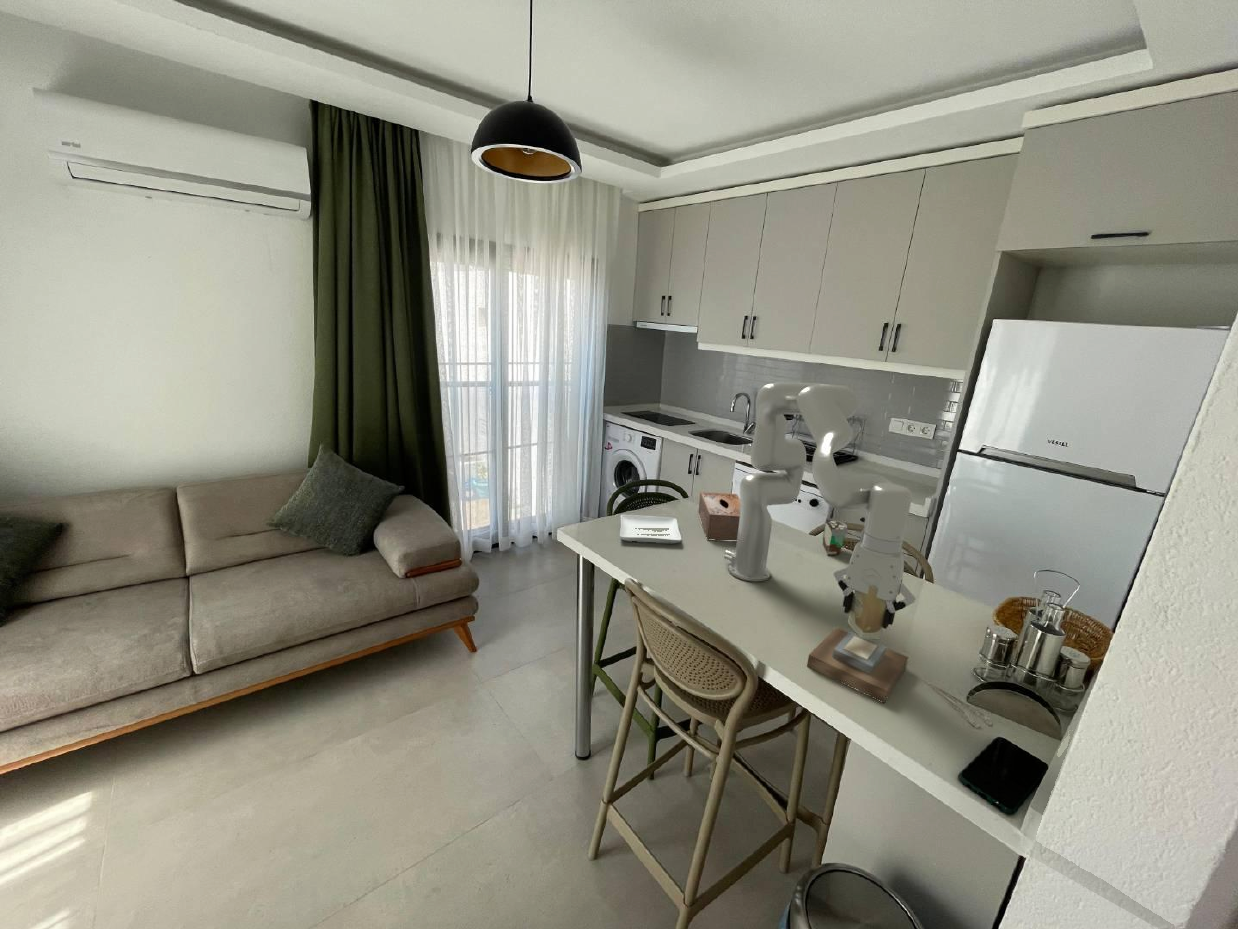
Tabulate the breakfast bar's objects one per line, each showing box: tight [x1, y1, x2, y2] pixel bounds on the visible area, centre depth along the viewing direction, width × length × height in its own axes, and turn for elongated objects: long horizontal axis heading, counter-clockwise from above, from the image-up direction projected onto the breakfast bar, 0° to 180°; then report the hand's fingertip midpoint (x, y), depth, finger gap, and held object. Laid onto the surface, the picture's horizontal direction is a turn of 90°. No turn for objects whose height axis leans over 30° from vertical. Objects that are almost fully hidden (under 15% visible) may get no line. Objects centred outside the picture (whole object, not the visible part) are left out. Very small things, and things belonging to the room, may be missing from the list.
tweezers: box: [920, 677, 993, 729], centre depth 105 cm, size 17×5×2 cm, turn 16°
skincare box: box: [847, 586, 888, 640], centre depth 109 cm, size 6×4×12 cm
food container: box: [821, 517, 849, 557], centre depth 174 cm, size 12×6×10 cm, turn 168°
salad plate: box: [619, 514, 682, 545], centre depth 182 cm, size 21×21×3 cm
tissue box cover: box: [697, 491, 740, 540], centre depth 191 cm, size 26×14×10 cm, turn 178°
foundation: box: [806, 626, 909, 703], centre depth 112 cm, size 16×16×5 cm
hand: (866, 617), depth 110 cm, fingers closed on skincare box, 7 cm apart
